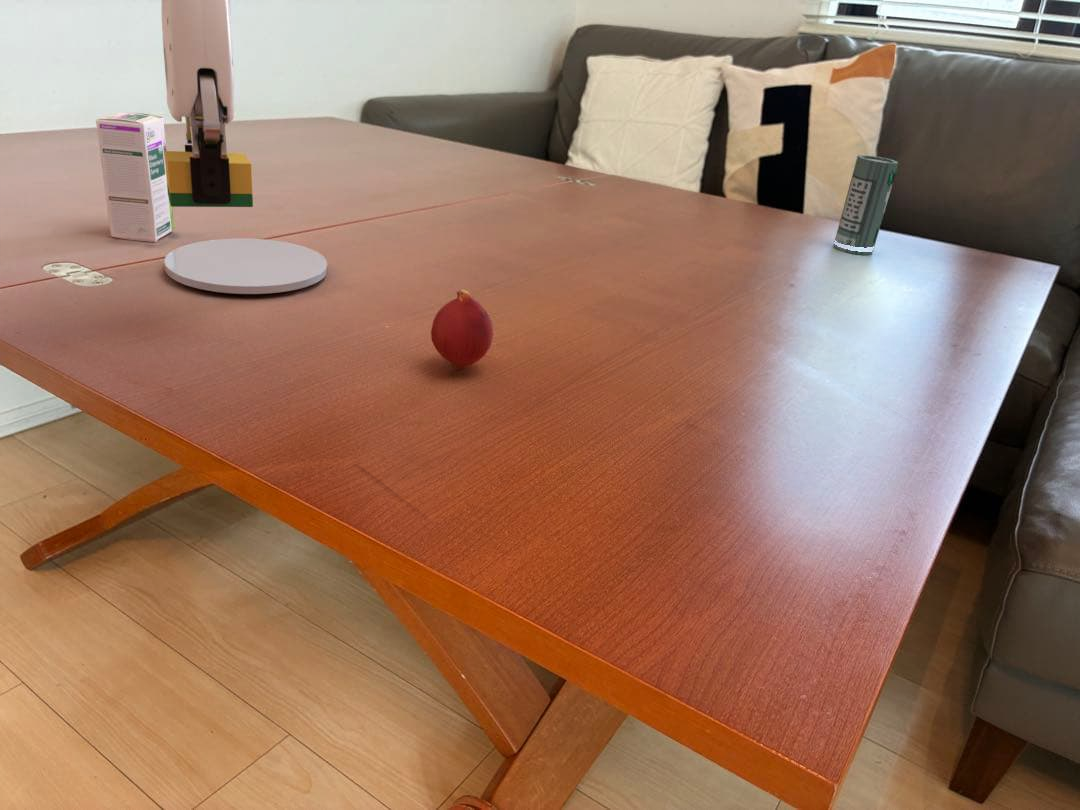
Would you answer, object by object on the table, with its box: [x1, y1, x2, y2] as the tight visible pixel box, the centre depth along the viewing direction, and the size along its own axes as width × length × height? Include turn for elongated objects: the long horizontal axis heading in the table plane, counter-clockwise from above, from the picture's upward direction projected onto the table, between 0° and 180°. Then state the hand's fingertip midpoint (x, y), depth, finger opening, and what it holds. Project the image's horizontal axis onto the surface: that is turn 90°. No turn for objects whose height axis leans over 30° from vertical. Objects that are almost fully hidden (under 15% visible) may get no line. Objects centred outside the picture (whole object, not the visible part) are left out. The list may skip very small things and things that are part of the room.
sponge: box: [164, 150, 254, 208], centre depth 78 cm, size 7×4×4 cm, turn 115°
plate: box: [163, 237, 328, 295], centre depth 99 cm, size 18×18×2 cm
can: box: [833, 154, 900, 256], centre depth 140 cm, size 6×6×15 cm
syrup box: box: [95, 111, 175, 243], centre depth 105 cm, size 6×6×14 cm
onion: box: [430, 289, 494, 370], centre depth 80 cm, size 6×6×8 cm
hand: (208, 193), depth 78 cm, fingers closed on sponge, 4 cm apart
